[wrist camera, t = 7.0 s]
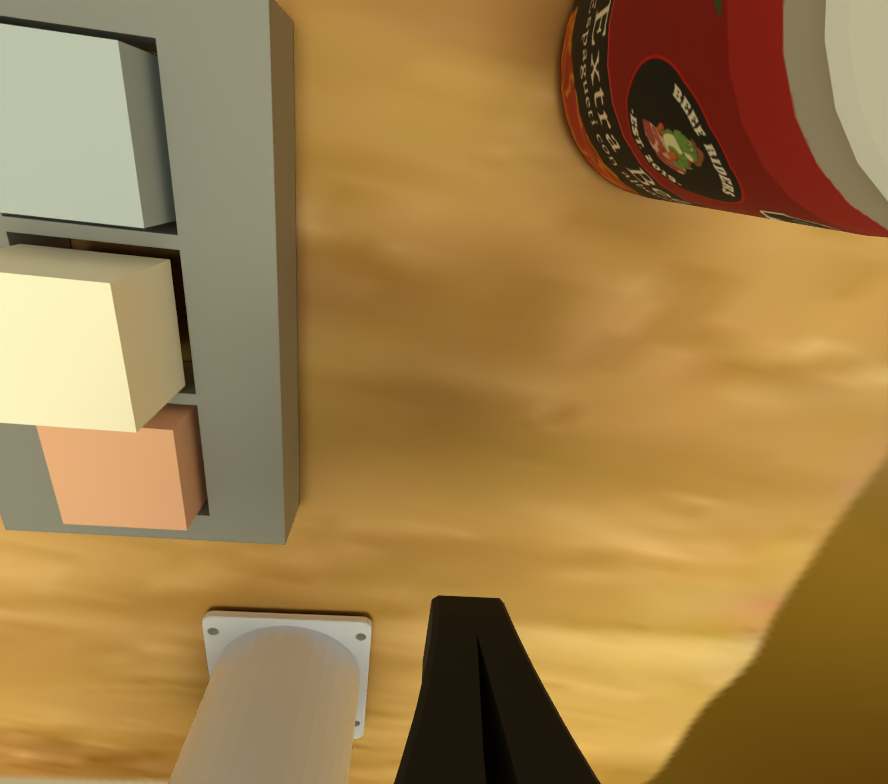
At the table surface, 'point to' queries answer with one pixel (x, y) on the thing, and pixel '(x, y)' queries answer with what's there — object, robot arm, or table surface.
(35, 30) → the key slate
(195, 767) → the robot arm
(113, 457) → the key terracotta
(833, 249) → the table surface
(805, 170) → the canned food
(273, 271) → the keypad base
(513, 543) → the table surface
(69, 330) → the key ivory
